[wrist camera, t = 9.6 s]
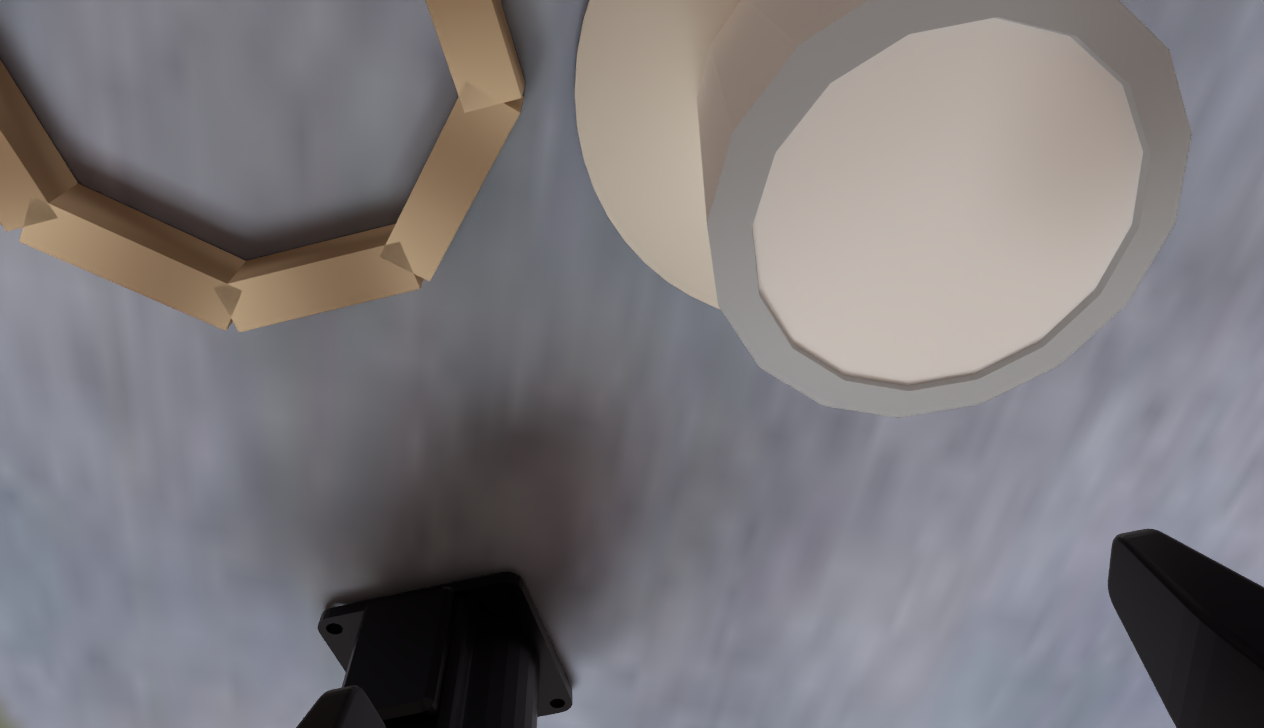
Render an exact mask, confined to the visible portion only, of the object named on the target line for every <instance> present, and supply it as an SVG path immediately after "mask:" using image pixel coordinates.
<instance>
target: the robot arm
mask: <svg viewBox="0 0 1264 728" xmlns="http://www.w3.org/2000/svg"><path fill="white" fill-rule="evenodd" d="M503 588H510V589H503ZM1108 591H1109V595H1110V598H1111V601H1112V604H1113V606H1114V608H1115V610H1116V612H1117V614H1118V616H1119V618H1120V620H1121V622H1122V623H1123V625H1124V627H1125V629H1126V631H1127V633H1128V635H1129V637H1130V639H1131V641H1132V643H1133V645H1134V647H1135V649H1136V651H1137V653H1138V655H1139V657H1140V659H1141V660H1142V662H1143V664H1144V666H1145V668H1146V670H1147V672H1148V674H1149V676H1150V678H1151V680H1152V682H1153V684H1154V686H1155V688H1156V690H1157V692H1158V694H1159V695H1160V697H1161V699H1162V701H1163V703H1164V705H1165V707H1166V709H1167V711H1168V713H1169V715H1170V716H1171V718H1172V720H1173V722H1174V724H1175V726H1176V727H1177V728H1264V587H1262V586H1260V585H1259V584H1257V583H1255V582H1253V581H1251V580H1249V579H1248V578H1246V577H1244V576H1242V575H1240V574H1238V573H1236V572H1235V571H1233V570H1231V569H1229V568H1227V567H1225V566H1223V565H1222V564H1220V563H1218V562H1216V561H1214V560H1212V559H1210V558H1209V557H1207V556H1205V555H1203V554H1201V553H1199V552H1198V551H1196V550H1194V549H1192V548H1190V547H1188V546H1186V545H1185V544H1183V543H1181V542H1179V541H1177V540H1175V539H1173V538H1172V537H1170V536H1168V535H1166V534H1164V533H1162V532H1160V531H1158V530H1154V529H1142V530H1137V531H1132V532H1127V533H1122V534H1119V535H1117V536H1116V537H1115V538H1114V540H1113V543H1112V549H1111V558H1110V567H1109V576H1108ZM335 623H336V624H335ZM318 630H319V632H320V634H321V635H322V637H323V638H324V640H325V641H326V643H327V644H328V646H329V647H330V649H331V650H332V652H333V653H334V655H335V656H336V658H337V659H338V661H339V662H340V664H341V665H342V667H343V668H344V670H345V671H346V674H345V678H344V681H343V685H342V688H338V689H333V690H329V691H327V692H325V693H324V694H323V695H322V696H321V697H320V698H319V699H318V700H317V702H316V703H315V704H314V705H313V707H312V708H311V709H310V711H309V712H308V713H307V714H306V716H305V717H304V718H303V720H302V721H301V722H300V723H299V725H298V726H297V727H296V728H537V717H539V716H545V715H550V714H555V713H560V712H564V711H567V710H568V709H569V708H571V706H572V689H571V687H570V685H569V682H568V680H567V678H566V676H565V673H564V671H563V669H562V667H561V664H560V662H559V660H558V658H557V655H556V653H555V651H554V649H553V646H552V644H551V642H550V640H549V637H548V635H547V633H546V631H545V628H544V626H543V624H542V622H541V619H540V617H539V615H538V613H537V610H536V608H535V606H534V604H533V601H532V599H531V597H530V595H529V592H528V590H527V588H526V586H525V583H524V581H523V579H522V578H521V577H520V576H519V575H517V574H515V573H511V572H501V573H496V574H492V575H487V576H482V577H477V578H472V579H468V580H463V581H458V582H453V583H448V584H444V585H439V586H434V587H429V588H424V589H420V590H415V591H410V592H405V593H400V594H396V595H391V596H386V597H381V598H376V599H371V600H367V601H362V602H357V603H352V604H347V605H343V606H338V607H333V608H329V609H327V610H325V611H324V612H323V613H322V615H321V618H320V621H319V624H318Z"/></svg>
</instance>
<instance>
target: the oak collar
mask: <svg viewBox="0 0 1264 728" xmlns="http://www.w3.org/2000/svg"><path fill="white" fill-rule="evenodd" d="M426 3H427V6H428V9H429V12H430V15H431V17H432V20H433V23H434V26H435V29H436V32H437V35H438V38H439V41H440V43H441V46H442V49H443V52H444V55H445V58H446V61H447V64H448V66H449V69H450V72H451V75H452V78H453V81H454V84H455V87H456V90H457V92H458V95H459V97H458V99H457V101H456V103H455V105H454V107H453V109H452V111H451V113H450V115H449V117H448V119H447V121H446V123H445V126H444V128H443V130H442V132H441V134H440V136H439V138H438V140H437V142H436V144H435V146H434V148H433V150H432V152H431V154H430V156H429V158H428V160H427V162H426V164H425V166H424V168H423V170H422V172H421V174H420V176H419V178H418V180H417V182H416V184H415V186H414V188H413V190H412V192H411V194H410V196H409V198H408V200H407V202H406V204H405V206H404V208H403V210H402V212H401V214H400V216H399V218H398V221H397V223H396V224H392V225H388V226H384V227H380V228H376V229H372V230H368V231H364V232H360V233H356V234H352V235H348V236H344V237H340V238H336V239H332V240H328V241H324V242H320V243H316V244H312V245H308V246H304V247H300V248H296V249H292V250H288V251H284V252H280V253H276V254H272V255H268V256H264V257H259V258H255V259H251V260H247V261H245V260H243V259H241V258H239V257H237V256H234V255H232V254H230V253H228V252H226V251H224V250H221V249H219V248H217V247H215V246H213V245H211V244H208V243H206V242H204V241H202V240H200V239H198V238H195V237H193V236H191V235H189V234H187V233H185V232H182V231H180V230H178V229H176V228H174V227H172V226H169V225H167V224H165V223H163V222H161V221H159V220H156V219H154V218H152V217H150V216H148V215H146V214H143V213H141V212H139V211H137V210H135V209H133V208H130V207H128V206H126V205H124V204H122V203H120V202H117V201H115V200H113V199H111V198H109V197H107V196H104V195H102V194H100V193H98V192H96V191H94V190H91V189H89V188H87V187H85V186H83V185H81V184H78V182H77V181H76V179H75V178H74V176H73V175H72V173H71V171H70V170H69V168H68V167H67V165H66V163H65V162H64V160H63V159H62V157H61V155H60V154H59V152H58V151H57V149H56V147H55V146H54V144H53V143H52V141H51V139H50V138H49V136H48V135H47V133H46V131H45V130H44V128H43V127H42V125H41V124H40V122H39V120H38V119H37V117H36V116H35V114H34V112H33V111H32V109H31V108H30V106H29V104H28V103H27V101H26V100H25V98H24V96H23V95H22V93H21V92H20V90H19V88H18V87H17V85H16V84H15V82H14V80H13V79H12V77H11V76H10V74H9V73H8V71H7V69H6V68H5V66H4V65H3V63H2V61H1V60H0V223H1V224H2V226H3V227H4V229H5V230H6V231H10V230H14V229H18V228H22V227H23V230H22V233H21V237H20V241H19V242H21V243H24V244H26V245H28V246H31V247H33V248H35V249H37V250H40V251H42V252H44V253H47V254H49V255H51V256H54V257H56V258H58V259H61V260H63V261H65V262H68V263H70V264H72V265H75V266H77V267H79V268H81V269H84V270H86V271H88V272H91V273H93V274H95V275H98V276H100V277H102V278H105V279H107V280H109V281H112V282H114V283H116V284H119V285H121V286H123V287H125V288H128V289H130V290H132V291H135V292H137V293H139V294H142V295H144V296H146V297H149V298H151V299H153V300H156V301H158V302H160V303H162V304H165V305H167V306H169V307H172V308H174V309H176V310H179V311H181V312H183V313H186V314H188V315H190V316H193V317H195V318H197V319H200V320H202V321H204V322H206V323H209V324H211V325H213V326H216V327H218V328H220V329H223V330H225V331H226V330H227V328H228V327H229V326H230V324H231V323H232V322H234V324H235V326H236V328H237V329H238V331H239V332H243V331H247V330H251V329H255V328H259V327H263V326H268V325H272V324H276V323H280V322H284V321H288V320H292V319H297V318H301V317H305V316H309V315H313V314H317V313H321V312H326V311H330V310H334V309H338V308H342V307H346V306H351V305H355V304H359V303H363V302H367V301H371V300H375V299H380V298H384V297H388V296H392V295H396V294H400V293H405V292H409V291H413V290H417V289H420V288H421V285H422V282H423V279H425V280H428V281H430V280H431V278H432V277H433V275H434V273H435V271H436V269H437V267H438V265H439V263H440V262H441V260H442V258H443V256H444V254H445V252H446V250H447V249H448V247H449V245H450V243H451V241H452V239H453V237H454V236H455V234H456V232H457V230H458V228H459V226H460V224H461V223H462V221H463V219H464V217H465V215H466V213H467V211H468V209H469V208H470V206H471V204H472V202H473V200H474V198H475V196H476V195H477V193H478V191H479V189H480V187H481V185H482V183H483V182H484V180H485V178H486V176H487V174H488V172H489V170H490V168H491V167H492V165H493V163H494V161H495V159H496V157H497V155H498V154H499V152H500V150H501V148H502V146H503V144H504V142H505V141H506V139H507V137H508V135H509V133H510V131H511V129H512V128H513V126H514V124H515V122H516V120H517V118H518V116H519V114H520V112H521V108H522V104H523V100H524V97H523V96H522V95H523V91H524V87H525V80H524V77H523V74H522V70H521V67H520V64H519V60H518V57H517V54H516V51H515V47H514V44H513V41H512V37H511V34H510V31H509V27H508V24H507V21H506V17H505V14H504V11H503V7H502V4H501V1H500V0H426Z"/></svg>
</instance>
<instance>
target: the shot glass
mask: <svg viewBox="0 0 1264 728" xmlns="http://www.w3.org/2000/svg"><path fill="white" fill-rule="evenodd" d="M697 108H698V121H699V133H700V145H701V158H702V170H703V182H704V195H705V207H706V219H707V228H708V236H709V243H710V250H711V257H712V264H713V272H714V279H715V286H716V293H717V300H718V306H719V308H720V309H721V311H722V312H723V314H724V315H725V317H726V318H727V320H728V321H729V323H730V324H731V326H732V327H733V329H734V330H735V332H736V333H737V335H738V336H739V338H740V339H741V341H742V342H743V343H744V345H745V346H746V348H747V349H748V351H749V352H750V354H751V355H752V357H753V358H754V360H755V361H756V363H757V364H758V366H759V367H760V368H761V369H763V370H764V371H766V372H768V373H769V374H771V375H773V376H774V377H776V378H777V379H779V380H781V381H782V382H784V383H786V384H787V385H789V386H791V387H792V388H794V389H796V390H797V391H799V392H801V393H802V394H804V395H806V396H807V397H809V398H811V399H812V400H814V401H816V402H817V403H819V404H821V405H822V406H828V407H834V408H840V409H846V410H853V411H859V412H865V413H871V414H878V415H884V416H890V417H896V418H901V417H907V416H913V415H919V414H925V413H931V412H937V411H942V410H948V409H954V408H960V407H966V406H972V405H978V404H981V403H983V402H986V401H988V400H990V399H992V398H994V397H996V396H998V395H1000V394H1002V393H1004V392H1006V391H1008V390H1010V389H1012V388H1014V387H1016V386H1018V385H1020V384H1022V383H1024V382H1026V381H1028V380H1030V379H1033V378H1035V377H1037V376H1039V375H1041V374H1043V373H1045V372H1047V371H1049V370H1051V369H1053V368H1055V367H1057V366H1059V365H1060V364H1061V363H1062V362H1064V361H1065V360H1066V359H1067V358H1068V357H1069V356H1070V355H1071V354H1072V353H1074V352H1075V351H1076V350H1077V349H1078V348H1079V347H1080V346H1081V345H1082V344H1084V343H1085V342H1086V341H1087V340H1088V339H1089V338H1090V337H1091V336H1092V335H1094V334H1095V333H1096V332H1097V331H1098V330H1099V329H1100V328H1101V327H1102V326H1103V325H1105V324H1106V323H1107V322H1108V321H1109V320H1110V319H1111V318H1112V317H1113V316H1115V315H1116V314H1117V313H1118V312H1119V311H1120V310H1121V309H1122V308H1123V307H1125V306H1126V305H1127V304H1128V302H1129V300H1130V299H1131V297H1132V295H1133V294H1134V292H1135V290H1136V289H1137V287H1138V285H1139V284H1140V282H1141V280H1142V279H1143V277H1144V275H1145V274H1146V272H1147V270H1148V269H1149V267H1150V265H1151V264H1152V262H1153V260H1154V259H1155V257H1156V255H1157V254H1158V252H1159V250H1160V249H1161V247H1162V245H1163V244H1164V242H1165V240H1166V239H1167V237H1168V235H1169V234H1170V232H1171V230H1172V228H1173V227H1174V225H1175V222H1176V216H1177V211H1178V206H1179V200H1180V195H1181V189H1182V184H1183V179H1184V173H1185V168H1186V163H1187V157H1188V152H1189V147H1190V141H1191V136H1192V134H1191V130H1190V127H1189V123H1188V119H1187V115H1186V112H1185V108H1184V104H1183V100H1182V97H1181V93H1180V89H1179V86H1178V82H1177V78H1176V74H1175V71H1174V67H1173V63H1172V59H1171V56H1170V52H1169V49H1168V48H1167V47H1166V46H1165V45H1164V44H1163V43H1162V42H1161V41H1160V40H1159V39H1158V38H1157V37H1156V36H1155V35H1154V34H1153V33H1152V32H1151V31H1150V30H1149V29H1148V28H1147V27H1146V26H1145V25H1144V24H1143V23H1142V22H1141V21H1139V20H1138V19H1137V18H1136V17H1135V16H1134V15H1133V14H1132V13H1131V12H1130V11H1129V10H1128V9H1127V8H1126V7H1125V6H1124V5H1123V4H1122V3H1121V2H1120V1H1119V0H741V1H740V2H739V4H738V5H737V7H736V8H735V10H734V11H733V12H732V14H731V15H730V17H729V18H728V20H727V21H726V22H725V24H724V25H723V27H722V28H721V29H720V31H719V32H718V34H717V35H716V37H715V38H714V39H713V41H712V42H711V44H710V47H709V51H708V55H707V59H706V63H705V66H704V70H703V74H702V78H701V82H700V86H699V90H698V94H697Z"/></svg>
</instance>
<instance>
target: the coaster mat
mask: <svg viewBox="0 0 1264 728" xmlns="http://www.w3.org/2000/svg"><path fill="white" fill-rule="evenodd" d="M740 1H741V0H589V2H588V6H587V9H586V12H585V15H584V18H583V23H582V29H581V34H580V40H579V45H578V51H577V61H576V79H575V105H576V118H577V129H578V134H579V139H580V144H581V149H582V153H583V158H584V162H585V165H586V168H587V171H588V173H589V176H590V179H591V182H592V185H593V188H594V190H595V192H596V194H597V196H598V198H599V200H600V202H601V204H602V206H603V208H604V210H605V212H606V214H607V216H608V218H609V219H610V221H611V222H612V223H613V225H614V226H615V228H616V229H617V231H618V232H619V233H620V235H621V236H622V238H623V239H624V241H625V242H626V243H627V244H628V245H629V246H630V247H631V249H632V250H633V251H634V252H635V253H636V254H637V255H638V256H639V257H640V258H641V259H642V261H643V262H644V263H645V264H647V265H648V266H649V267H650V268H651V269H653V270H654V271H655V272H656V273H657V274H659V275H660V276H661V277H662V278H663V279H665V280H666V281H667V282H669V283H670V284H672V285H674V286H675V287H677V288H678V289H680V290H682V291H683V292H685V293H686V294H688V295H690V296H691V297H694V298H696V299H698V300H700V301H702V302H705V303H707V304H709V305H711V306H713V307H716V308H719V306H718V300H717V293H716V286H715V279H714V272H713V264H712V257H711V250H710V243H709V236H708V228H707V219H706V207H705V195H704V182H703V170H702V158H701V145H700V133H699V121H698V108H697V94H698V90H699V86H700V82H701V78H702V74H703V70H704V66H705V63H706V59H707V55H708V51H709V47H710V44H711V42H712V41H713V39H714V38H715V37H716V35H717V34H718V32H719V31H720V29H721V28H722V27H723V25H724V24H725V22H726V21H727V20H728V18H729V17H730V15H731V14H732V12H733V11H734V10H735V8H736V7H737V5H738V4H739V2H740ZM719 309H720V308H719Z"/></svg>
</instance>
